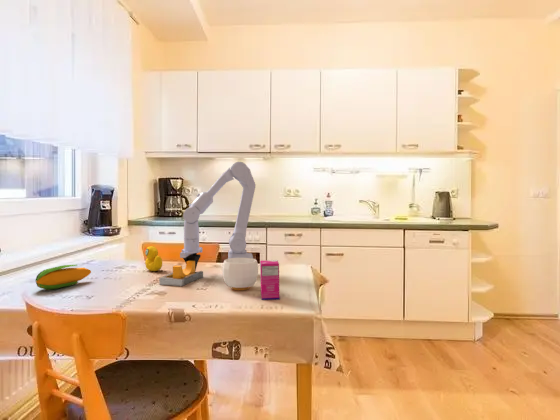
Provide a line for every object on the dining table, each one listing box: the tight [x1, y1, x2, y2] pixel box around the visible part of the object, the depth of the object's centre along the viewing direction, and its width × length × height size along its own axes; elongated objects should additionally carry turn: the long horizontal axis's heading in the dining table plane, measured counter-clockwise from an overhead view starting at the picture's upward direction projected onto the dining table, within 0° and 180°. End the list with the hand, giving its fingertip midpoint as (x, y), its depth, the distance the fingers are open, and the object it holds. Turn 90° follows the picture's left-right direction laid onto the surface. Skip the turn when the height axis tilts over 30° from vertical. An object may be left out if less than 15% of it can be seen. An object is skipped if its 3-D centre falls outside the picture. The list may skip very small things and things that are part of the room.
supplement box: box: [259, 259, 281, 301], centre depth 130 cm, size 6×6×12 cm
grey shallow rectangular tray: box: [158, 270, 204, 287], centre depth 153 cm, size 11×15×2 cm
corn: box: [35, 264, 92, 291], centre depth 144 cm, size 7×8×20 cm
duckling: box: [144, 245, 163, 272], centre depth 170 cm, size 11×5×10 cm, turn 47°
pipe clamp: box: [172, 261, 196, 279], centre depth 153 cm, size 12×4×6 cm, turn 165°
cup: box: [221, 258, 259, 291], centre depth 142 cm, size 12×12×10 cm
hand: (191, 273), depth 161 cm, fingers closed
